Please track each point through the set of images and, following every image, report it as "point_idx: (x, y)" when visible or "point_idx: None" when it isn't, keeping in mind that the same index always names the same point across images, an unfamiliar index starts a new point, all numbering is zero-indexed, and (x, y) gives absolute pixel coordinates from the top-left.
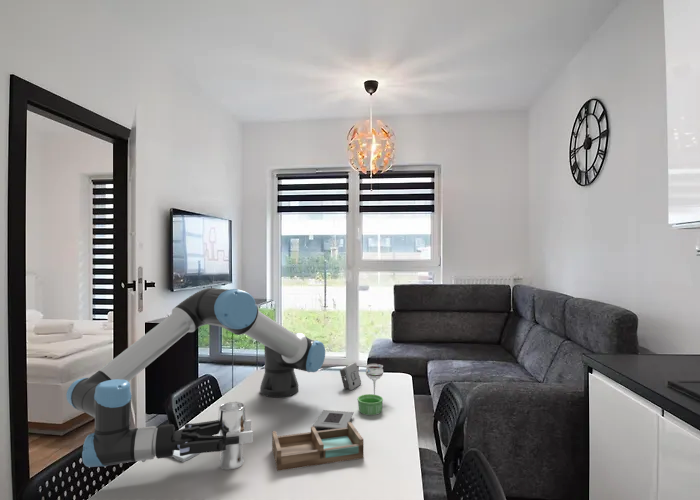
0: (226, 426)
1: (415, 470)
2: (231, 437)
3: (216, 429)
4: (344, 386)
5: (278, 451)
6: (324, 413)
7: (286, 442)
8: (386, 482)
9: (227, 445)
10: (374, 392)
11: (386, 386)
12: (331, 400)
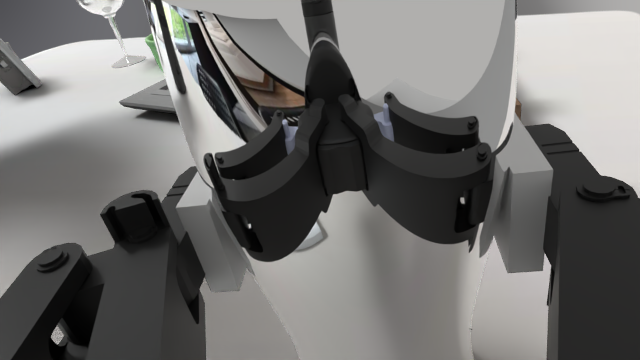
0: (513, 86)
1: (524, 15)
2: (548, 161)
3: (187, 333)
4: (11, 88)
5: (519, 104)
6: (147, 98)
7: None
8: (586, 32)
9: (540, 258)
10: (124, 48)
11: (94, 54)
12: (52, 108)
